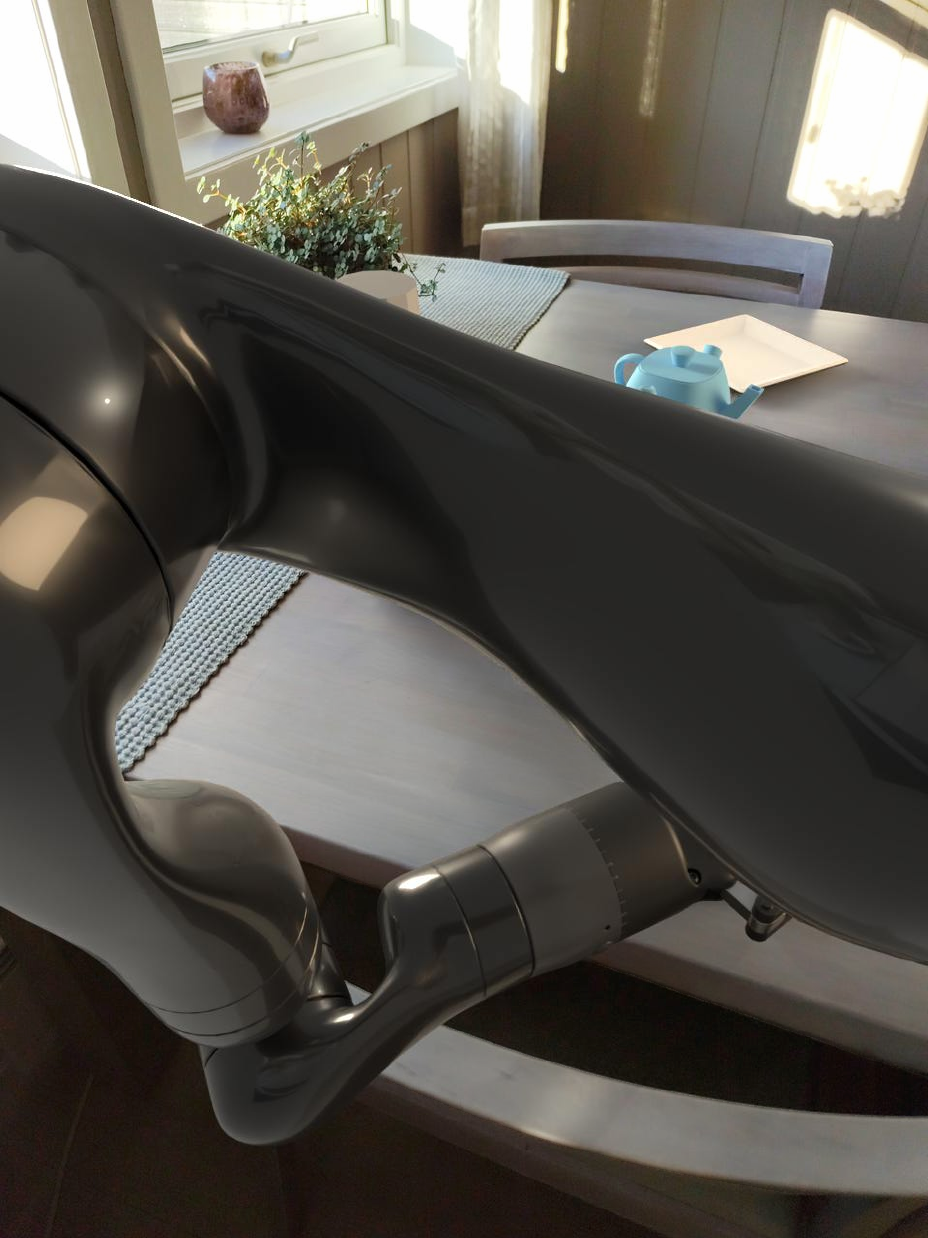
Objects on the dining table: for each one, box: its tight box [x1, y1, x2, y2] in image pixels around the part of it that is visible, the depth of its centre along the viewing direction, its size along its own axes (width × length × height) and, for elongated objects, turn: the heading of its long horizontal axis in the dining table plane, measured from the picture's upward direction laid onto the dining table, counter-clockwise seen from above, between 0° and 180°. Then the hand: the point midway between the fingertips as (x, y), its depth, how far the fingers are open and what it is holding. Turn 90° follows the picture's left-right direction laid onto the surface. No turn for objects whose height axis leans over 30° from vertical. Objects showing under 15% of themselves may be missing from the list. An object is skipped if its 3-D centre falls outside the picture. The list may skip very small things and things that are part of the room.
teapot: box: [613, 345, 765, 420], centre depth 94 cm, size 15×14×11 cm
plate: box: [643, 314, 849, 395], centre depth 114 cm, size 19×19×2 cm
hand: (818, 769), depth 51 cm, fingers closed on candle, 5 cm apart
